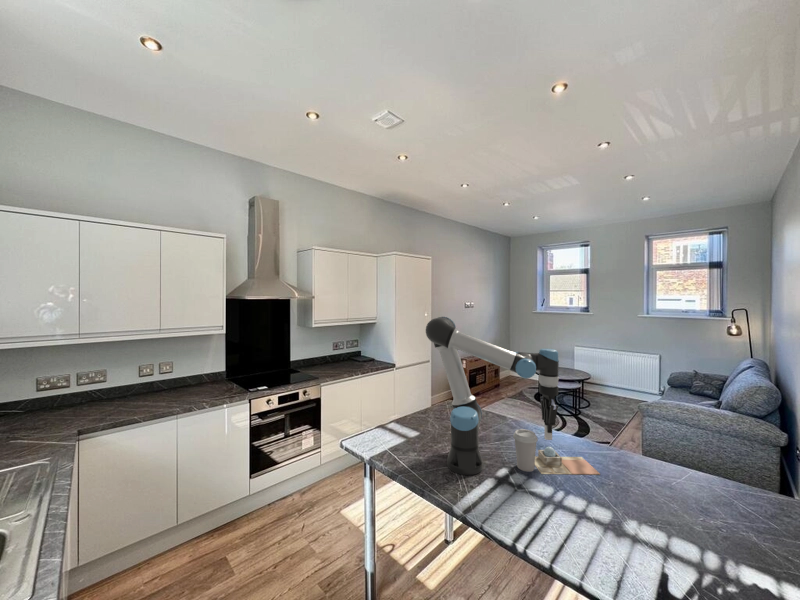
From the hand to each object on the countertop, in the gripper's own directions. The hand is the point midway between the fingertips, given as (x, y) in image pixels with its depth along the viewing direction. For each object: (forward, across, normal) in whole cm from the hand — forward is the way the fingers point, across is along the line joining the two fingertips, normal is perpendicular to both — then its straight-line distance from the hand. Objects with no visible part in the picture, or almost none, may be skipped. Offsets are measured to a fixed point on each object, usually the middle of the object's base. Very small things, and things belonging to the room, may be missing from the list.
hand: (548, 439), depth 136 cm
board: (+10, -3, -5) cm, 12 cm away
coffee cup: (+11, -5, +11) cm, 16 cm away
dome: (+8, 0, -1) cm, 8 cm away
